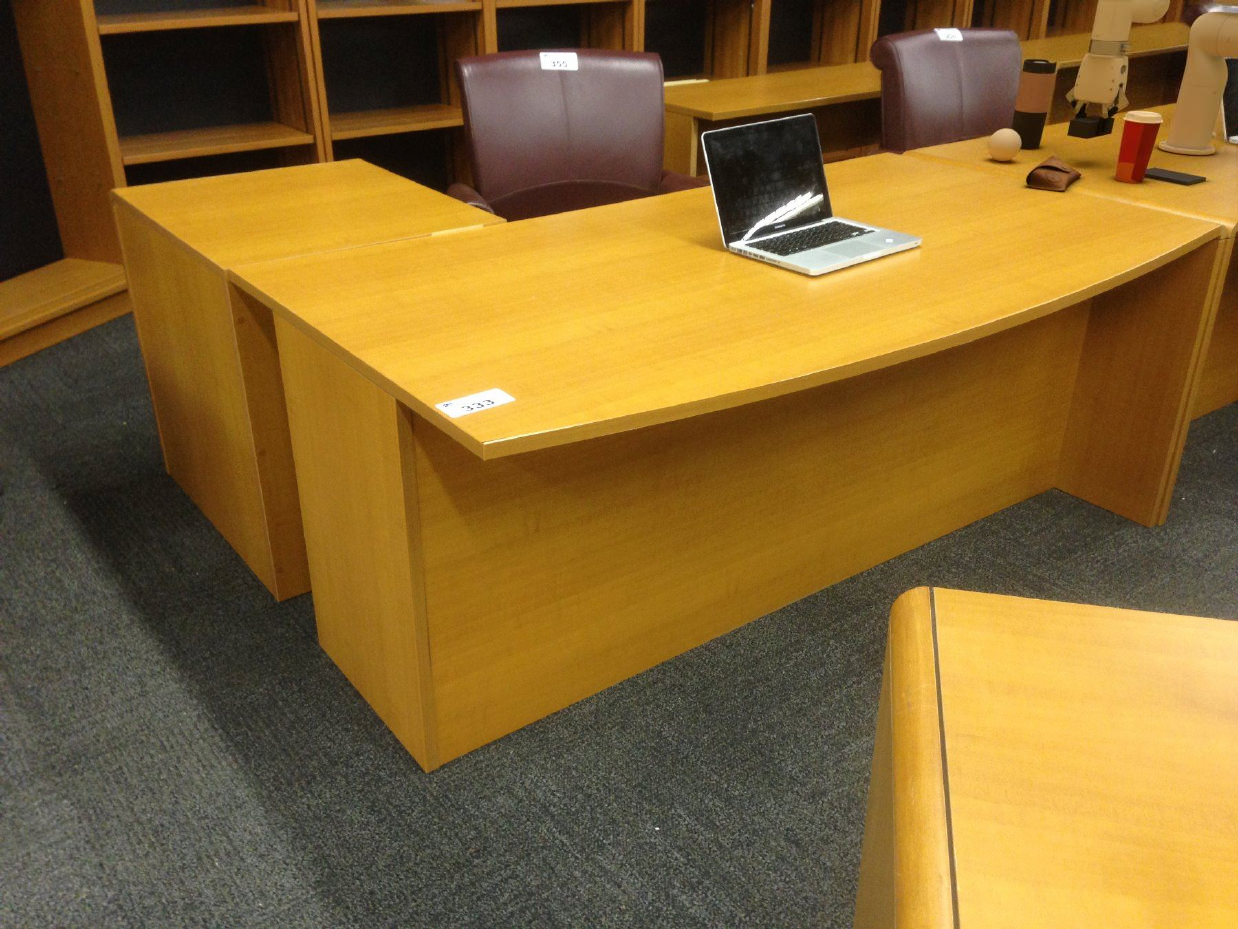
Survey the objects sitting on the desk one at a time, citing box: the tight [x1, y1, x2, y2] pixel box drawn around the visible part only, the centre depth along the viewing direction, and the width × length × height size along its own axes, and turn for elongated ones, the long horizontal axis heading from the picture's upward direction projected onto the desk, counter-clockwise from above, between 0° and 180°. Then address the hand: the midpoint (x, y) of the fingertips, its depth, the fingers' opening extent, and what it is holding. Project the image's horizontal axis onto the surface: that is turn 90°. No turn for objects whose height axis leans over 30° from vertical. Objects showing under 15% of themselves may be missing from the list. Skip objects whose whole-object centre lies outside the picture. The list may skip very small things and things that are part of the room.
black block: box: [1066, 114, 1116, 140], centre depth 239 cm, size 10×5×4 cm, turn 127°
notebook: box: [1144, 166, 1207, 186], centre depth 232 cm, size 8×12×1 cm, turn 37°
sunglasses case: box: [1025, 155, 1083, 192], centre depth 226 cm, size 18×7×7 cm, turn 149°
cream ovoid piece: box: [987, 128, 1022, 162], centre depth 244 cm, size 10×7×7 cm
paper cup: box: [1114, 110, 1164, 184], centre depth 226 cm, size 8×8×14 cm
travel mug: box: [1011, 58, 1058, 150], centre depth 256 cm, size 8×8×20 cm
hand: (1089, 132), depth 240 cm, fingers closed on black block, 5 cm apart
